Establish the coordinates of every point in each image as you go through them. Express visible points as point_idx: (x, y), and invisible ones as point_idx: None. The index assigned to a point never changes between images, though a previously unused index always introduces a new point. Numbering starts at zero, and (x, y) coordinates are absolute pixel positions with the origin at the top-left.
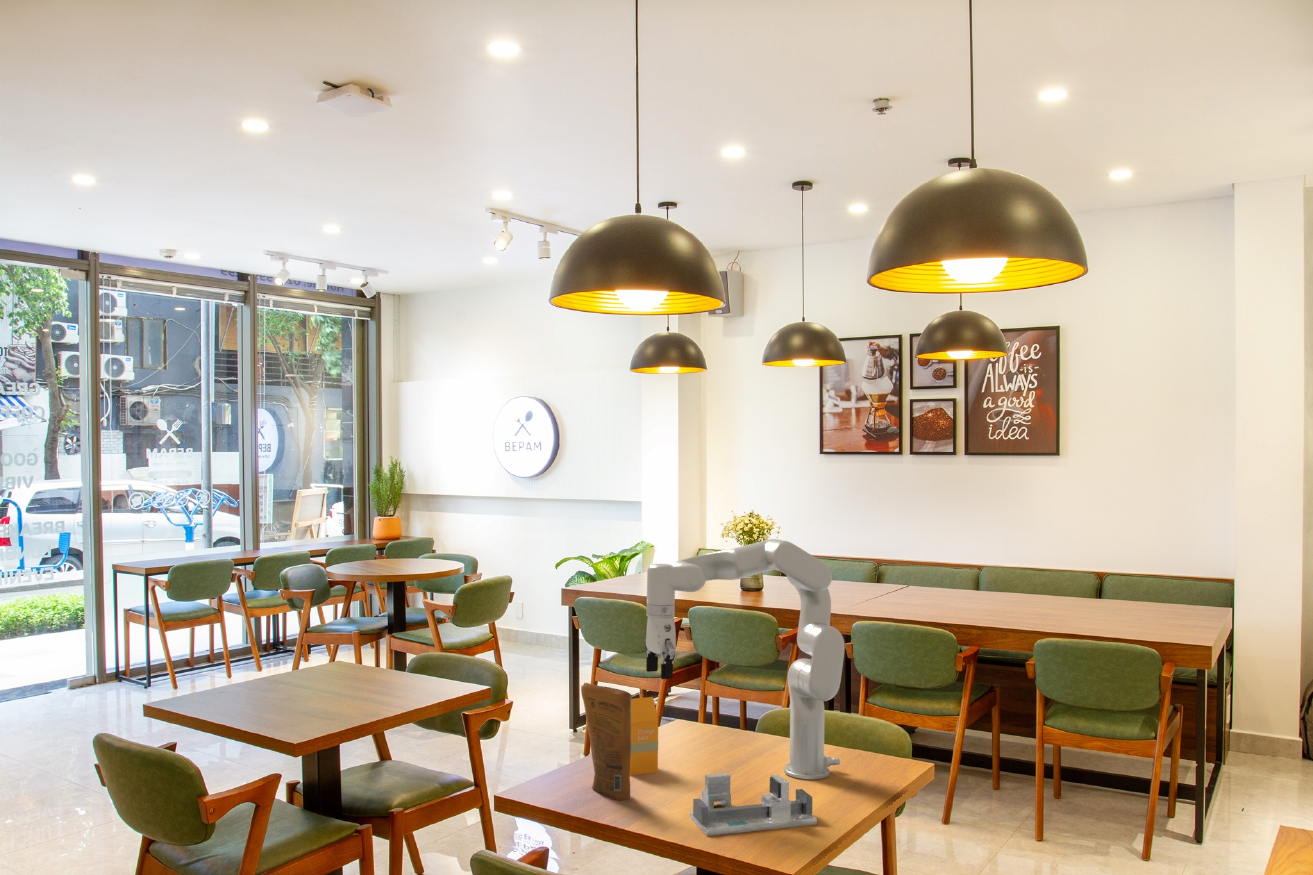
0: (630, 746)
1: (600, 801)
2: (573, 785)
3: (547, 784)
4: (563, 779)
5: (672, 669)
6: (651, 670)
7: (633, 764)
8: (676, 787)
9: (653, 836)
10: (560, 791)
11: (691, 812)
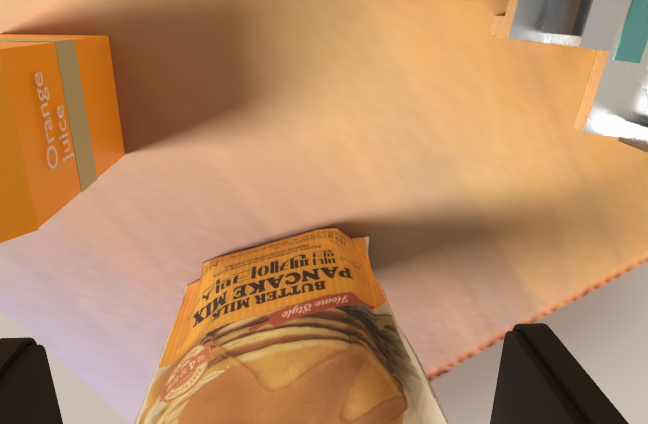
0: (403, 338)
1: None
2: None
3: None
4: (118, 347)
5: (607, 405)
6: (54, 421)
7: (110, 147)
8: (306, 45)
9: (625, 270)
10: None
11: (592, 133)
